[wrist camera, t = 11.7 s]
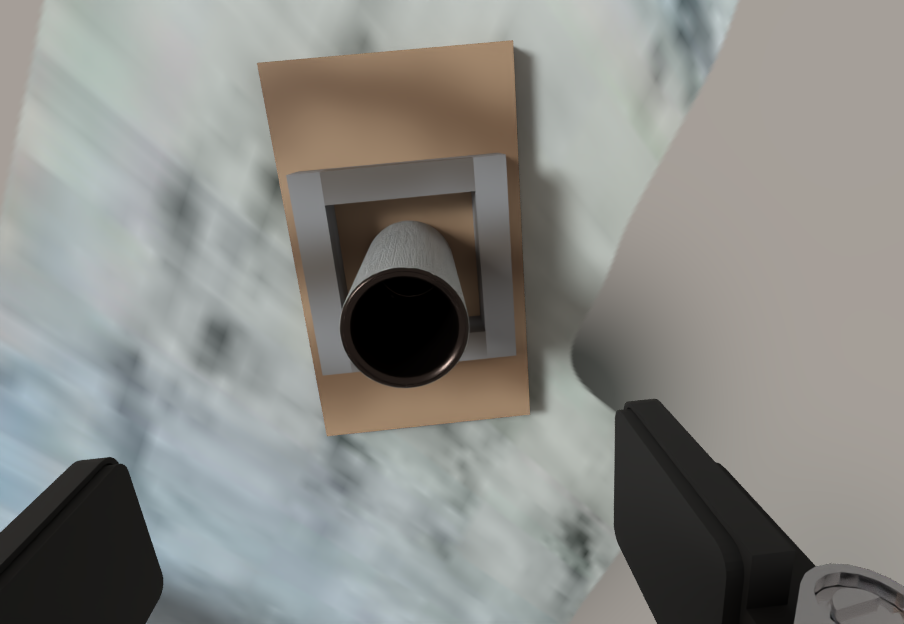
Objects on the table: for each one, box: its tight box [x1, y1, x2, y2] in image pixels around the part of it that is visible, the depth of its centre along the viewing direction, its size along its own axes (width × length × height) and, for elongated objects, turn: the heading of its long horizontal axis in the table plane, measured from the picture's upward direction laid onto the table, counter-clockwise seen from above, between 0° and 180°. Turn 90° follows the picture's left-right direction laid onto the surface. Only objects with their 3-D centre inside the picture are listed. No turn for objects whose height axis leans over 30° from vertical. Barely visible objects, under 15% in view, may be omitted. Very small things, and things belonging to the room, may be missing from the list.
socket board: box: [257, 40, 530, 436], centre depth 28 cm, size 20×12×4 cm, turn 5°
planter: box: [339, 221, 469, 388], centre depth 23 cm, size 4×4×10 cm
